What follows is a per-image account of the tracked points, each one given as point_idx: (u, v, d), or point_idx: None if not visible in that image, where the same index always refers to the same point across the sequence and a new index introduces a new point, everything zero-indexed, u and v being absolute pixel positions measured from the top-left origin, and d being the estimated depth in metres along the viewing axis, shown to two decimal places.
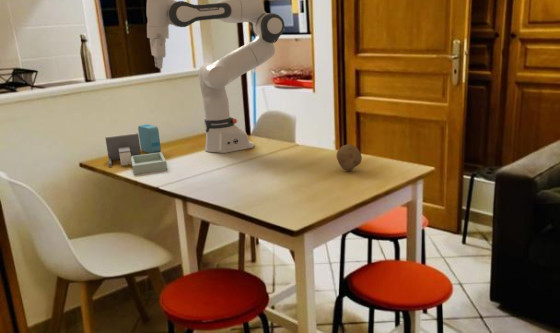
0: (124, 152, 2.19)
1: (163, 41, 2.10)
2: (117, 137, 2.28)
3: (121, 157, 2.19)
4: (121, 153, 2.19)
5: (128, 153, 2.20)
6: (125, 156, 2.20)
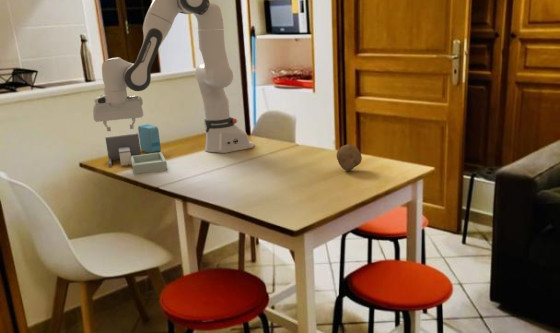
0: (124, 152, 2.19)
1: None
2: (117, 137, 2.28)
3: (121, 157, 2.19)
4: (121, 153, 2.19)
5: (128, 153, 2.20)
6: (125, 156, 2.20)
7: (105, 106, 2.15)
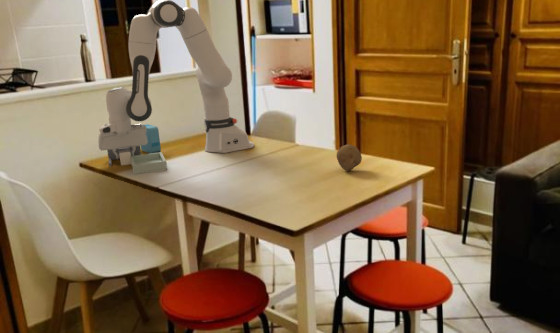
0: (124, 152, 2.19)
1: None
2: None
3: (121, 157, 2.19)
4: (121, 153, 2.19)
5: (128, 153, 2.20)
6: (125, 156, 2.20)
7: (110, 135, 2.18)
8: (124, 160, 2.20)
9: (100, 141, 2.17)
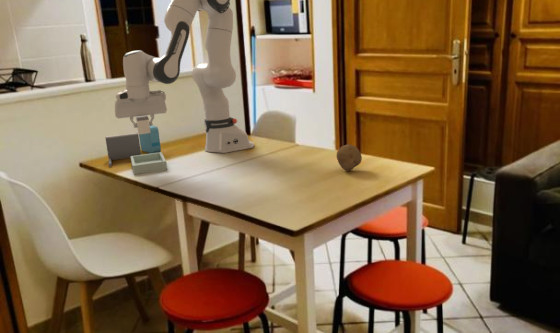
0: (142, 120, 2.06)
1: None
2: (117, 137, 2.28)
3: (139, 125, 2.06)
4: (139, 121, 2.05)
5: (146, 121, 2.06)
6: (143, 124, 2.06)
7: (127, 102, 2.04)
8: (142, 129, 2.06)
9: (117, 108, 2.04)
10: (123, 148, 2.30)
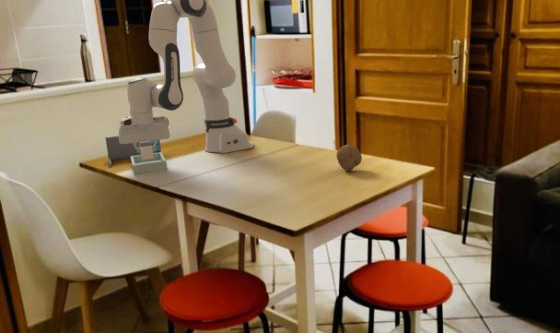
0: (145, 146, 2.08)
1: None
2: (117, 137, 2.28)
3: (142, 151, 2.08)
4: (142, 147, 2.08)
5: (150, 147, 2.09)
6: (146, 150, 2.09)
7: (131, 128, 2.07)
8: (145, 154, 2.09)
9: (120, 134, 2.06)
10: (123, 148, 2.30)
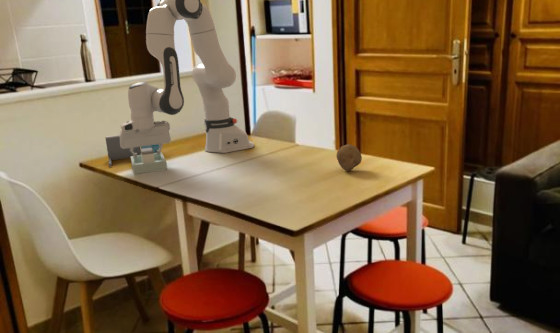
0: (147, 153, 2.09)
1: None
2: (117, 137, 2.28)
3: (144, 159, 2.09)
4: (144, 154, 2.09)
5: (151, 154, 2.10)
6: (148, 158, 2.10)
7: (132, 133, 2.07)
8: (147, 162, 2.10)
9: (122, 139, 2.07)
10: None
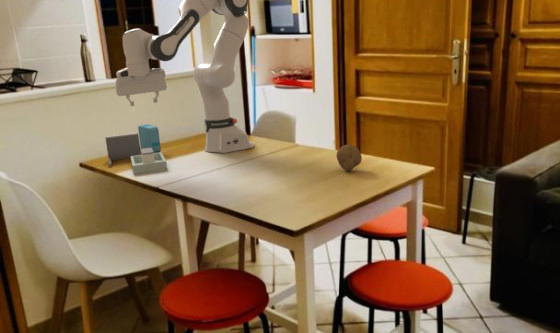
0: (147, 153, 2.09)
1: None
2: (117, 137, 2.28)
3: (144, 159, 2.09)
4: (144, 154, 2.09)
5: (151, 154, 2.10)
6: (148, 158, 2.10)
7: (128, 80, 2.08)
8: (147, 162, 2.10)
9: (118, 86, 2.08)
10: (123, 148, 2.30)
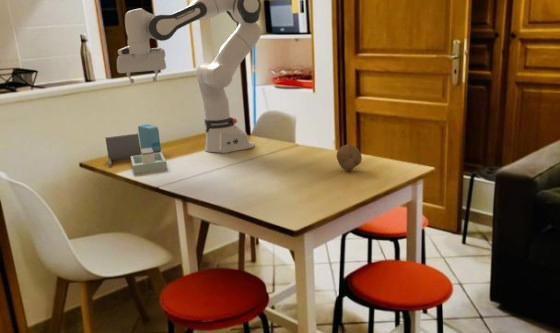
0: (147, 153, 2.09)
1: None
2: (117, 137, 2.28)
3: (144, 159, 2.09)
4: (144, 154, 2.09)
5: (151, 154, 2.10)
6: (148, 158, 2.10)
7: (129, 57, 2.16)
8: (147, 162, 2.10)
9: (119, 63, 2.15)
10: (123, 148, 2.30)
